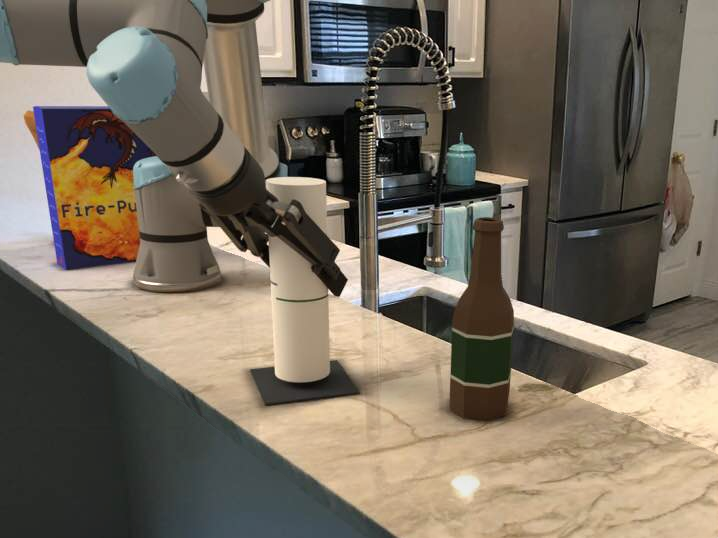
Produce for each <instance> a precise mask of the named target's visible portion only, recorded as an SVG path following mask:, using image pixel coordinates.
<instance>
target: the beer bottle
mask: <svg viewBox="0 0 718 538" xmlns="http://www.w3.org/2000/svg"><path fill="white" fill-rule="evenodd" d="M504 229H505V225H504V221H503V220H502V219H500V218H498V217H492V216H491V217H489V216H481V217H477V218H475V220H474V221H473V224H472V230H473V231H474V237H473V246H472V255H471V266H470V274H469V278H468V279H469V280H468V283H467V287H466V288H465V290H464V291H463V293H461V295H460V297H459V299H458V301H457V304H456V306H455V308H454V311H453V315H452V323H451V343H450V344H451V347H450V371H449V372H450V374H449V375H450V377H449V409H450V410H451V412H454V413H455V414H457V415H458V416H459V417H461V418H463V419H467V420H475V421H476V420H477V421H486V422H487V421H490V420H493V419H494V420H495V419H497V418H501V417H504V416H505V415H506V413H507V409H508V406H509V399H510V392H511V391H510V390H511V389H510V388H511V375H512V359H513V346H514V331H515V310H514V307H513V303H512V300H511V298H510V296H509V294H508V293H507V291H506V289H505V288H504V285H503V277H502V232H503V231H504Z"/></svg>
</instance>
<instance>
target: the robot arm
mask: <svg viewBox="0 0 718 538" xmlns="http://www.w3.org/2000/svg"><path fill="white" fill-rule="evenodd" d="M268 2H271V0H0V63H4V64H12V65H13V66H20V65H22V66H23V65H24V66H49V67H50V66H51V67H76V68H77V67H79V68H80V67H81V68H86V77H87V80H88V82H89V85H90V86H91V87H92V88H93V90H94V91H95V92H96V93H97V95H98V96H99V97H100V98H101V99H102V101H103V102H104V103H105V104H106V106H108V107H109V108H110V110H111V111H112V113H113V114H114V115H115V116H116V117H118V118H119V119H120V120H122V121H123V122H124V123H125V124H126V125H127V126H128V127H129V128H130V129H131V130H132V131H133V132H134V133H135V134H136V135H137V136H138V137H139V138H140V139H141V140H142V141H143V142H144V143H145V144H146V145H147V146H148V147H149V148H150V149H151V150H152V151H153V152H154V153H155V154H156V156H154V157H149V158H145V159H142V160H139V161H138V162H136V163H135V165H134V167H133V179H134V185H133V189H134V192H135V201H136V209H137V217H138V226H139V234H140V247H139V251H138V255H137V259H136V262H135V265H134V269H133V276H132V277H133V284H134V286H135V287H137V288H139V289H141V290H144V291H151V292H159V293H180V292H181V293H182V292H183V293H184V292H193V291H198V290H205V289H208V288H211V287H214V286H216V285H217V284H219V283H220V282H222V275H221V274H222V273H221V269H220V265H219V264H218V261H217V258H216V256H215V254H214V251H213V249H212V247H211V244H210V242H209V237H208V228H220V229H221V230H222V232H224V234H225V235H226V236H227V238H228V239H229V241H231V243H232V244H233V245H234V246H235V247H236V248H237V250H238V251H240V252H242V253H246V252H247V251H249V252H250V254H251V255H253V256H254V257H257V258H260V260H261V261H262V262H263V263H264V264H265V265H266V266H267V267H268V268H269V269H270V260H269V240H268V235H269V236H270V237H276V236H277V237H278V238H279V239H281V240H282V241H283V242H284V243H286V244H287V245H288V246H289V247H291V248H292V249H293V250H295V251H296V252H297V253H298V254H300V255H301V256H302V257H303V258H305V259H306V260H307V261H308V262H310V263H311V264H312V267H311V269H312V272H314V273H315V274H316V275H317V276H318V277H319V279H320V280H321V281H322V282H323V283H324V284H325V286H326V287H327V288H328V291H329V292H331V294H332V295H333V296H334V297H336V298H340V297H341V295H342V293H343V291H344V289H345V287H346V285H347V283H348V281H349V279H348V277H347V276H346V275H345V274H344V273H343V271H342V270H341V268H340V267H339V265H338V264H337V262H335V261H336V259H337V257H338V255H339V253H340V251H341V249H340V248H339V247H338V246H337V245H336V244H335V243H334V242H333V241H332V239H331V238H330V237H329V236H328V234H327V235H326V234H325V233H324V232H323V231H322V230H321V229H320V228H319V226H318V225H317V224H316V223H315V222H314V221H313V220H312V219H311V218H310V217H309V216H308V215H307V213H306V212H305V210H304V208H303V206H302V204H301V203H300V202H299V201H297V200H294V199H293V200H292V201H291V203H290V204H289V205H288V204H284V203H281V202H279V200H278V199H277V198H276V197H275V196H274V195H273V194H271V193H270V192H269V191H268V190H267V189H266V180H267V179H270V178H278V177H288V171H289V170H288V167H289V166H288V165H287V164H285V163H282V162H279V157H278V154H277V153H276V152H275V151H274V150H273V149H272V148H271V147H270V146H269V140H268V131H267V122H266V110H265V102H264V101H265V100H264V91H263V82H262V72H261V63H260V54H259V52H260V51H259V43H258V33H257V32H258V31H257V24H256V21H258V20H259V18H261V17H262V15H263V14H264V13H265V3H266V4H267V3H268ZM203 69H204V76H205V83H206V89H207V94H208V99H207V97H206V96H205V94H204V93H203V91H202V88H201V85H202V79H203V78H202V77H203ZM278 215H279V216H278ZM277 217H278V218H277ZM276 219H277V220H276ZM275 221H276V222H275ZM274 222H275V224H274ZM273 224H274V225H273ZM272 225H273V227H271V226H272Z"/></svg>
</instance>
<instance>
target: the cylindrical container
mask: <svg viewBox="0 0 718 538" xmlns="http://www.w3.org/2000/svg"><path fill="white" fill-rule="evenodd" d="M266 189H267V190H268V191H269V192H270V193H271V194H273V195H274V196H275V197H276V198H277V199H278V200H279V202H281V203H284V204H288V205H289V204H290V203H291V201H292V200H293V199H294V200H297V201H299V202H300V203H301V204H302V206H303V208H304V210H305V212H306V213H307V215H308V216H309V217H310V218H311V219H312V220H313V221H314V222H315V223H316V224H317V225H318V226H319V228H320V229H321V230H322V231H323V232H324V233H325V234H326V235H327V236H328V212H327V211H328V209H327V208H328V207H327V181H326V179H325V180H324V179H321V178H316V177H315V178H314V177H306V176H304V177H303V176H287V177H278V178H270V179H267V180H266ZM278 216H279V215H278ZM277 218H278V217H277ZM276 220H277V219H276ZM275 222H276V221H275ZM275 222H274V224H275ZM274 224H273V225H274ZM273 225H272V226H271V227H273ZM268 240H269V241H268V245H269V260H270V268H269V276H270V277H269V278H270V279H269V280H270V298H271V302H270V303H271V319H272V321H271V322H272V340H273V341H272V342H273V361H274V362H273V363H274V367H275V375H276V376H277V377H278V378H279V379H282V380H284V381H289V382H312V381H317V380H320V379H323V378H325V377H326V376H328V375H329V373H330V361H331V353H330V352H331V351H330V350H331V349H330V302H329V298H330V297H329V289H328V288H327V287H326V286H325V284H324V283H323V282H322V281H321V280H320V279H319V277H318V276H317V275H316V274H315V273H314V272H312V269H311V267H312V264H311V263H310V262H308V261H307V260H306V259H305V258H303V257H302V256H301V255H300V254H298V253H297V252H296V251H295V250H293V249H292V248H291V247H289V246H288V245H287V244H286V243H284V242H283V241H282V240H281V239H279V238H278V237H277V236H276V237H270V236H269V235H268Z"/></svg>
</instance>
